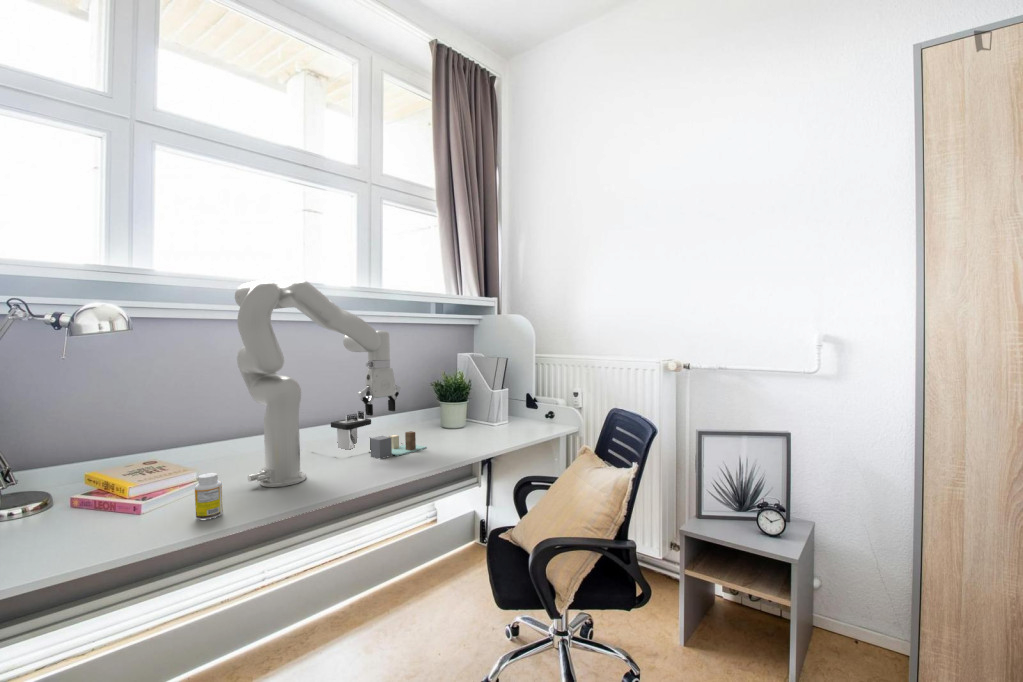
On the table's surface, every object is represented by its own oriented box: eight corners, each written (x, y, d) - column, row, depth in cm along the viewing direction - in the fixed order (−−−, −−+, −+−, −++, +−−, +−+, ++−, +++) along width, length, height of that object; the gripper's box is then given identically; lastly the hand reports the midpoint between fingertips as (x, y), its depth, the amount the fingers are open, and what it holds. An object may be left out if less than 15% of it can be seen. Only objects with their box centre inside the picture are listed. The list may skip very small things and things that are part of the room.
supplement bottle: (205, 512, 120) (204, 471, 120) (227, 512, 120) (226, 471, 120) (190, 521, 115) (188, 478, 114) (213, 521, 115) (212, 478, 114)
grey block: (379, 458, 169) (379, 440, 168) (370, 456, 172) (370, 438, 172) (391, 455, 173) (391, 437, 173) (382, 453, 176) (382, 435, 176)
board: (397, 456, 172) (396, 441, 172) (378, 452, 178) (378, 438, 178) (426, 448, 183) (426, 434, 183) (408, 444, 189) (408, 431, 189)
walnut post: (410, 450, 177) (409, 433, 177) (405, 449, 179) (405, 432, 179) (415, 449, 179) (415, 432, 179) (411, 448, 181) (410, 431, 181)
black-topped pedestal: (341, 460, 168) (340, 422, 168) (300, 450, 184) (299, 415, 184) (403, 444, 191) (403, 410, 191) (363, 436, 207) (362, 405, 206)
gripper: (365, 367, 163) (366, 418, 163) (405, 363, 176) (406, 410, 177) (351, 366, 167) (353, 416, 168) (392, 363, 181) (393, 408, 181)
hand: (380, 413), depth 172 cm, fingers open, 9 cm apart
